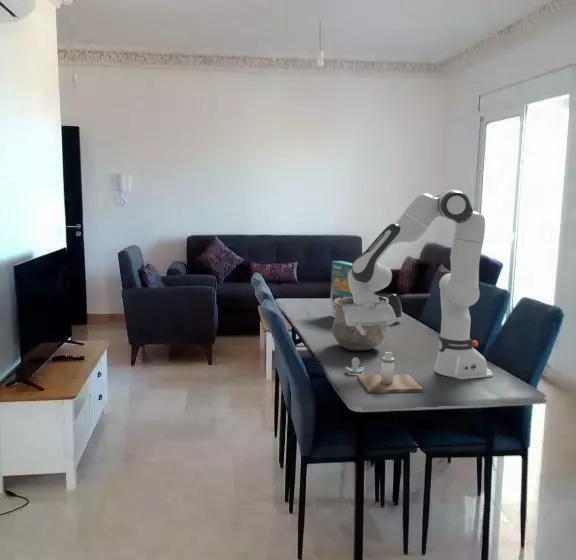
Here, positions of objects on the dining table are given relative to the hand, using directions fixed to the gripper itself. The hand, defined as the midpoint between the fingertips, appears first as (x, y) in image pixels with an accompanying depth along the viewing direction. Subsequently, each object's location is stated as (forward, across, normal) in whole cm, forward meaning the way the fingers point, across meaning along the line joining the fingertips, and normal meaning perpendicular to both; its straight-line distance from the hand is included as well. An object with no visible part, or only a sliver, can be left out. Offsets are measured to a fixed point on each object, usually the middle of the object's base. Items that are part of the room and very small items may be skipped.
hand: (375, 333), depth 238 cm
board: (+20, +1, +3) cm, 20 cm away
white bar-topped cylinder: (+19, 0, +2) cm, 19 cm away
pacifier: (+10, -6, +14) cm, 18 cm away
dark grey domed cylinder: (-44, +48, +68) cm, 94 cm away
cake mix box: (-51, +27, +75) cm, 95 cm away
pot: (-13, +9, +37) cm, 40 cm away
